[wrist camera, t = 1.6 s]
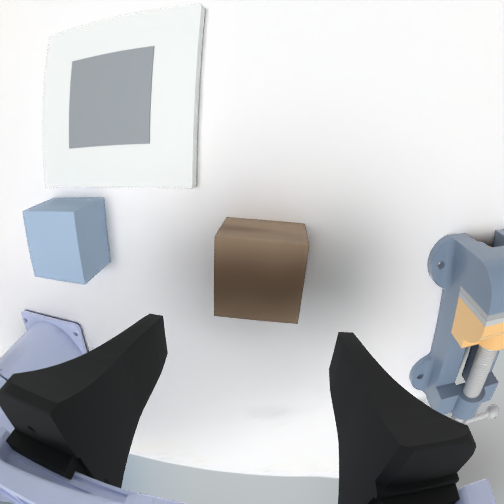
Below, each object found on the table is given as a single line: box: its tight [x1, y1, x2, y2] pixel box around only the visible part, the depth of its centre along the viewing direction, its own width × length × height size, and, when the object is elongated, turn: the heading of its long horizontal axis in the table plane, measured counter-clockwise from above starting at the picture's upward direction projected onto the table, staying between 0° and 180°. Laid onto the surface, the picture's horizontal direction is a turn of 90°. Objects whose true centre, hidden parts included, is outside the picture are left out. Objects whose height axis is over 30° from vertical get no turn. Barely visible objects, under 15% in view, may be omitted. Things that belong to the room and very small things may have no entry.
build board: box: [42, 4, 205, 189], centre depth 17 cm, size 12×12×1 cm
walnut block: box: [214, 217, 309, 324], centre depth 19 cm, size 5×5×4 cm
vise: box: [410, 229, 504, 424], centre depth 19 cm, size 18×10×7 cm, turn 8°
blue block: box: [23, 197, 111, 284], centre depth 20 cm, size 5×5×4 cm
